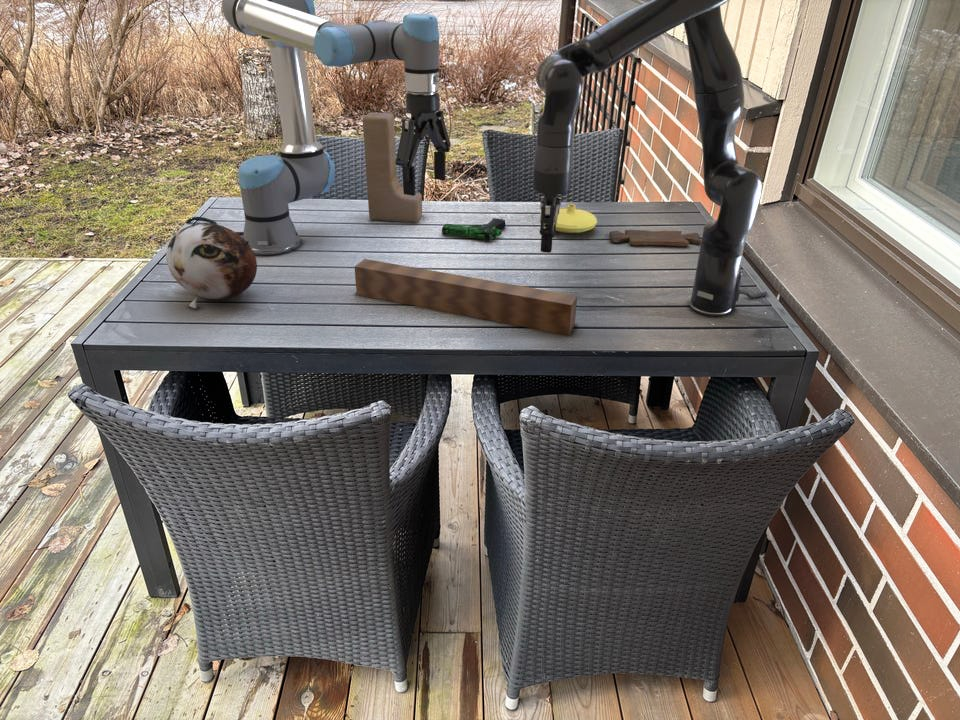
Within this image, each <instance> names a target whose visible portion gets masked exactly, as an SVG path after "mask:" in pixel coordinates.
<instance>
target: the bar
mask: <svg viewBox="0 0 960 720" xmlns="http://www.w3.org/2000/svg"><path fill="white" fill-rule="evenodd" d="M353 267H354V280H355V290H356V291H355V292H356V295H357V296H362V297H367V298H372V299H376V300H377V299H378V300H383V301H388V302H394V303H397V304H404V305H409V306H414V307H420V308H423V309H429V310H435V311H441V312H445V313H451V314H457V315H461V316H465V317H471V318H477V319H482V320H486V321H492V322H498V323H503V324H508V325H512V326H518V327H524V328H530V329H533V330H540V331H543V332H549V333H555V334H560V335H566V336H570V334H571V332H572V331H573V329H574V327H575V326H576V315H577V306H578V295H576V294H569V293H563V292H558V291H553V290H547V289H542V288H541V289H540V288H534V287H529V286H523V285H519V284H513V283H506V282H500V281H495V280H489V279H483V278H478V277H472V276H466V275H460V274H454V273H449V272H442V271H437V270H433V269H432V270H431V269H425V268H420V267H413V266H409V265H403V264H397V263H391V262H385V261H379V260H374V259H368V258H364V259H362V260H361V261H359V262H358V263H357V264H356V265H354V266H353Z"/></svg>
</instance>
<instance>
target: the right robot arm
mask: <svg viewBox="0 0 960 720" xmlns="http://www.w3.org/2000/svg"><path fill="white" fill-rule="evenodd" d="M729 1H730V0H649V1H647V2H644V3H641V4H639V5H637V6H635V7H632V8H629V9H628V10H626V11H624V12H622V13H619V14H618V15H616V16H614V17H612V18H611V19H609V20H608V21H606V22H605V23H603V24H601V25H600V26H599V27H597V28H596V29H594V30H592V31H591V32H590V33H588V34H587V35H585V36H584V37H583V38H580V39H578V40H576V41H574V42H571V43H569V44H567V45H565V46H563V47H561V48H559V49H557V50H555V51H553V52H552V53H550V54H549V55H547V56H546V57H545V58H544V59H543V60H542V61H541V62H540V63H539V65H538V67H537V69H536V72H535V81H536V84H537V87H538V89H540V91H542V92H543V93H544V94H545V96H544V97H545V98H544V104H543V111H542V112H541V113H540V114H539V115H538V118H537V124H536V125H537V126H536V142H535V143H536V144H535V149H534V155H533V157H534V158H533V175H532V177H533V178H532V188H533V190H534V191H535V192H536V193H538V194H542V195H544V196H541V199H540V203H539V210H540V211H539V213H540V214H539V223H540V225H539V226H540V227H539V228H540V229H539V235H541V237H540V252H541V253H548V254H550V253H551V252H552V250H553V239H554V238H555V237H556V232H557V231H556V224H557V218H558V214H559V211H560V209H561V205H562V197H560V195H561V196H563V195H565V194H567V193H569V192H570V191H571V189H572V188H571V187H572V175H573V162H574V145H573V144H574V131H575V121H576V116H577V114H578V110H579V105H580V102H581V98H582V93H583V78H585V77H587V76H588V75H590V74H594V73H595V74H596V73H597V74H598V73H602V72H604V71H606V70H607V69H610V68H611V67H613V66H615V65H616V64H618V63H619V62H620V61H622V60H623V59H625V58H627V57H628V56H630V55H631V54H633V53H634V52H635V51H637V50H639V49H640V48H641V47H643V46H645V45H646V44H648V43H650V42H652V41H653V40H655V39H657V38H658V37H660V36H662V35H664V34H666V33H667V32H668V31H671V30H672V29H674V28H676V27H678V26H680V25H682V24H683V25H684V26H683V27H684V31H685V36H686V42H687V48H688V49H687V50H688V56H689V58H688V59H689V64H690V71H691V77H692V87H693V94H694V101H695V108H696V112H697V118H698V119H697V120H698V126H699V133H700V141H701V147H702V148H701V149H702V167H703V169H702V170H703V171H702V172H703V187H704V192H705V195H706V197H707V198H708V200H709V201H711V202H712V203H714V204H716V206H719V207H720V208H719V211H718V215H717V218H716V219H712V220H709V221H708V222H706V223H705V224H704V226H703V230H702V236H701V240H700V247H699V253H698V259H697V263H696V269H695V274H694V281H693V285H692V291H691V296H690V300H689V308H691V309H692V310H693V311H694V312H696V313H697V314H701V315H704V316H710V317H722V316H726V315H729V314H731V312H735V309H736V304H737V303H738V302H739V299H740V295H745V296H747V297H748V298H750V299H756V298H760V297H763V296H767V295H768V292H767V291H762V292H759V293H756V294H751V293H750V292H748V291H745V290H741V289H740V287H741V282H742V278H743V273H742V271H740V269H741V264H742V258H743V254H744V250H745V245H746V241H747V237H748V234H750V231H751V230H752V228H753V226H754V223H755V220H756V215H757V212H758V208H759V205H760V202H761V197H762V193H763V192H762V191H763V182H762V178H761V177H760V175H759V174H758V173H757V172H755V171H754V170H752V169H750V168H747V167H746V166H743V165H741V164H740V163H739V161H738V157H737V151H736V142H735V140H736V139H735V138H736V137H735V135H736V131H737V127H738V125H739V122H740V120H741V117H742V114H743V111H744V108H745V90H744V89H745V88H744V81H743V73H742V67H741V65H740V61H739V58H738V56H737V54H736V52H735V49H734V47H733V45H732V43H731V41H730V39H729V36H728V35H727V32H726V29H725V26H724V22H723V17H722V9H721V6H723V5H725V4H726V3H727V2H729Z"/></svg>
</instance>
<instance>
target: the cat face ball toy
mask: <svg viewBox="0 0 960 720" xmlns="http://www.w3.org/2000/svg"><path fill="white" fill-rule="evenodd" d="M236 232H237V231H234V230H233V229H231V228H229V227H226V226H223V225H220V224H217V225H216V224H212V223H205V222H204V223H195V224H191V225H188V226H186V227H183V228H182V229H180V230H179V231H177V232H176V233H175V234H174V235H173V237H171V239H170V241H169V243H168V245H167V248H166V254H165V260H166V265H167V268H168V271H169V273H170V275H171V276H172V277H173V279H174V280H175V281H176V282H177V284H178V285H180V286H181V287H182V288H183V289H185V290H186V291H187V292H189V293H191V294H194V295H195V298H194V299H193V300H192V302H190V303H189V304H188V306H189V307H191V308H192V309H197V308H198V307H197V298H198V297H201V298H205V299H210V300H226V299H230V298H233V297H236V296H238V295H241V294H242V293H244V292H245V291H247V290H248V289H249V288H250V286H251V285H252V284H253V282H254V280H255V278H256V275H257V271H258V262H257V257H256V254H254V252H253V250H252V248H251V247H250V245H249V244H248V242H249V241H246V240H245V239H244V238H243V236H242V235H239V234H237V233H236Z"/></svg>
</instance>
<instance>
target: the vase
mask: <svg viewBox="0 0 960 720" xmlns="http://www.w3.org/2000/svg"><path fill="white" fill-rule="evenodd" d="M597 223H598V219H597V217H596V215H595V214H593V213H591V212H589V211H587V210H584V209H578V208H576V205H575V204H571V203H570V204H567V208H560V211H559V214H558V218H557V224H556V231H555V232H559V233H564V234H580V233H584V232H585V233H586V232H587V231H591V230H592V229H594V228H596V226H597Z"/></svg>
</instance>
